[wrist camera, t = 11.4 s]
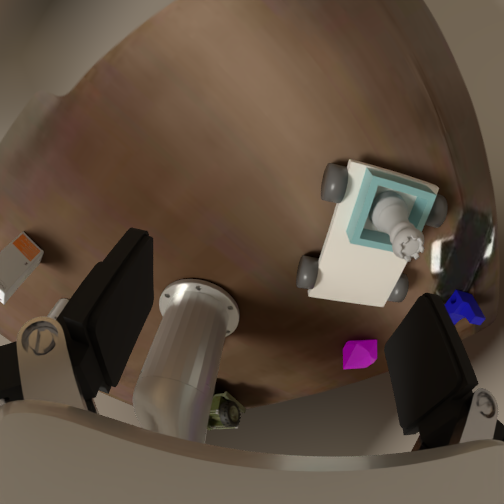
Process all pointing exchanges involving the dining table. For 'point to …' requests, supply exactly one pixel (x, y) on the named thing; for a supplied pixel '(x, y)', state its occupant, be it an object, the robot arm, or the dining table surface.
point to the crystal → (359, 354)
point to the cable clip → (464, 308)
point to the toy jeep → (224, 411)
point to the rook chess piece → (396, 225)
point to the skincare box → (17, 264)
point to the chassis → (365, 235)
